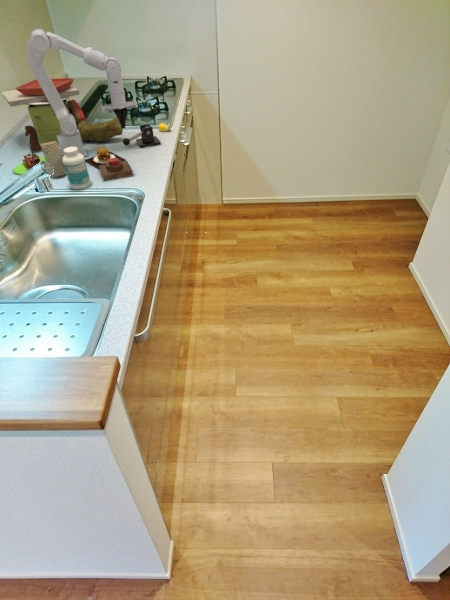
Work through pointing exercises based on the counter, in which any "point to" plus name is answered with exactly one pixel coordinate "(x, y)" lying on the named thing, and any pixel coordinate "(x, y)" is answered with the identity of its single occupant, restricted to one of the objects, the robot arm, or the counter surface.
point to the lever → (132, 138)
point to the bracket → (147, 137)
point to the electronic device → (34, 96)
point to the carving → (54, 157)
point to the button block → (115, 170)
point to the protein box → (45, 122)
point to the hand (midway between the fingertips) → (123, 127)
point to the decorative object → (76, 111)
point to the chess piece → (33, 138)
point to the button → (113, 161)
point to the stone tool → (100, 130)
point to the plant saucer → (36, 89)
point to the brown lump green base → (28, 163)
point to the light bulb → (163, 127)
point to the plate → (44, 102)
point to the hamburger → (102, 157)
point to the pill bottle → (76, 168)
